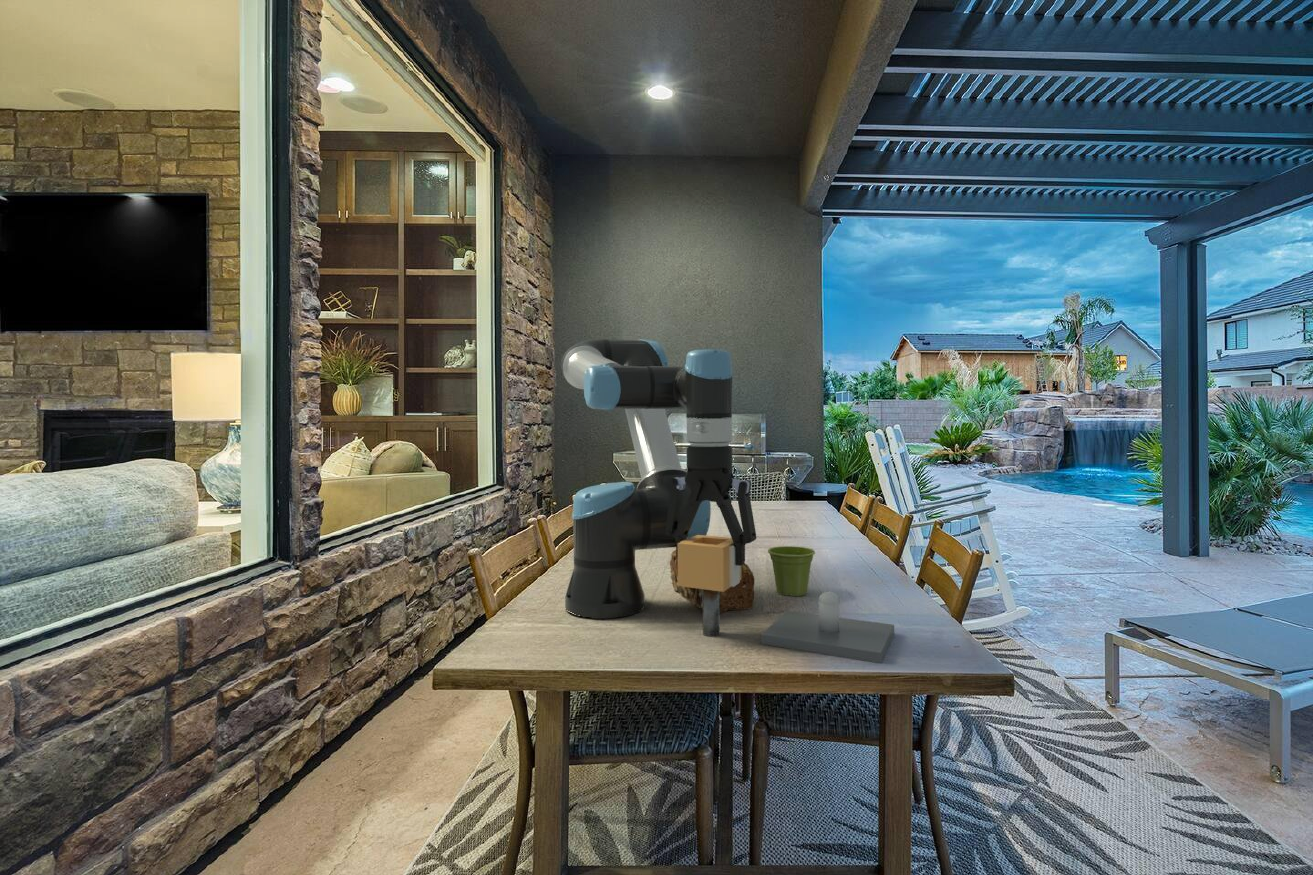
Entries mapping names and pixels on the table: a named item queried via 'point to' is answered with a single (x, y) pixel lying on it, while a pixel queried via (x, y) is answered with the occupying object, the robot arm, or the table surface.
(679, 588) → the bread
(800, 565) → the plant pot
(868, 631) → the board
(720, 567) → the collar
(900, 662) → the table surface
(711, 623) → the shiny metal cylinder
